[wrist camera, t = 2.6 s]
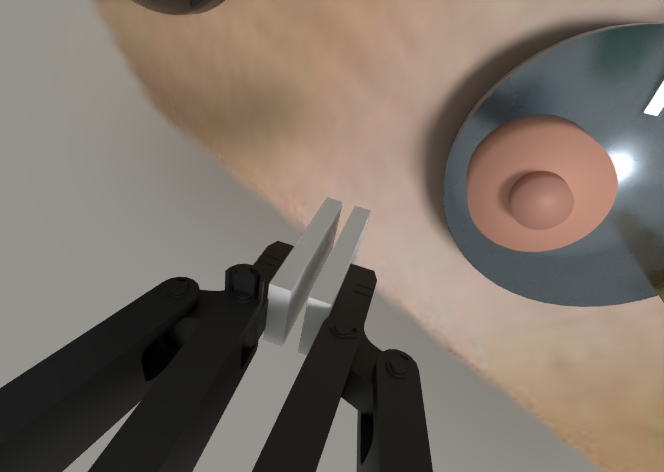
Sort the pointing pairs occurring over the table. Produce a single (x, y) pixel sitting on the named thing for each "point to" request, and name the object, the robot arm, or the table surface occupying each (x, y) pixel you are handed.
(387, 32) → the table surface
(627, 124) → the turntable
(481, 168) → the cover
